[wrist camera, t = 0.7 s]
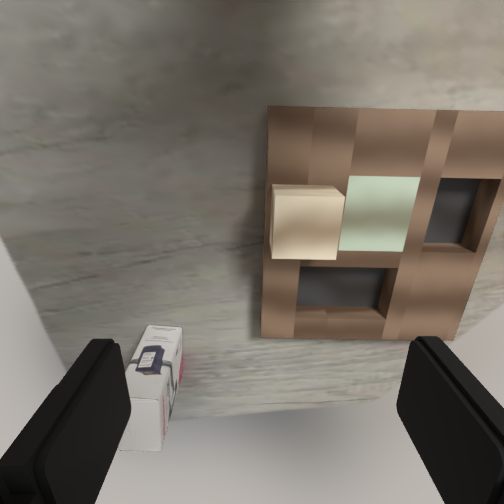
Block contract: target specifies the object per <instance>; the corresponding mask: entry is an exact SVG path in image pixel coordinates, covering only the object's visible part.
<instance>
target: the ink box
mask: <svg viewBox="0 0 504 504" xmlns="http://www.w3.org/2000/svg"><path fill="white" fill-rule="evenodd" d="M125 375H126V381H127V386H128V391H129V396H130V401H131V415H130V419H129V421H128V423H127V426H126V428H125V431H124V433H123V436H122V438H121V441H120V443H119V445H118V448H119V450H120V451H149V452H161V451H162V447H163V443H164V439H165V435H166V431H167V428H168V424H169V420H170V417H171V413H172V409H173V406H174V402H175V399H176V395H177V391H178V388H179V384H180V380H181V377H182V328H181V327H168V326H154V325H148V326H147V327H146V330H145V332H144V334H143V336H142V338H141V340H140V342H139V344H138V346H137V349H136V351H135V353H134V355H133V357H132V359H131V361H130V363H129V365H128V367H127V369H126V372H125Z"/></svg>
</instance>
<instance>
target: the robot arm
mask: <svg viewBox="0 0 504 504" xmlns="http://www.w3.org/2000/svg"><path fill="white" fill-rule="evenodd" d="M396 405H397V412H398V414H399V417H400V418H401V421H402V422H403V424H404V426H405V428H406V430H407V432H408V434H409V436H410V438H411V440H412V442H413V444H414V445H415V447H416V449H417V451H418V453H419V455H420V457H421V459H422V460H423V463H424V465H425V466H426V469H427V470H428V472H429V474H430V476H431V478H432V480H433V482H434V484H435V486H436V488H437V490H438V491H439V493H440V495H441V497H442V499H443V501H444V503H445V504H504V408H503V407H502V406H501V405H500V404H499V403H498V402H497V400H496V399H495V398H494V397H493V396H492V395H491V394H490V393H489V392H488V391H487V389H486V388H485V387H484V386H483V385H482V384H481V383H480V382H479V381H478V380H477V378H476V377H475V376H474V375H473V374H472V373H471V372H470V371H469V370H468V368H467V367H466V366H464V364H463V363H462V362H461V361H460V360H459V359H458V357H457V356H456V355H455V354H454V353H453V352H452V351H451V350H450V349H449V348H448V346H447V345H446V344H445V343H444V342H443V341H442V340H441V339H440V338H439V337H437V336H418V337H416V338H415V341H411V343H410V346H409V350H408V355H407V359H406V363H405V368H404V372H403V377H402V381H401V385H400V390H399V394H398V399H397V404H396ZM130 415H131V401H130V396H129V391H128V386H127V381H126V375H125V370H124V365H123V360H122V355H121V350H120V346H119V344H118V343H114V340H113V339H92V340H91V341H90V342H89V344H88V345H87V346H86V348H85V349H84V350H83V352H82V353H81V354H80V356H79V357H78V358H77V360H76V361H75V363H74V364H73V365H72V367H71V368H70V369H69V371H68V372H67V373H66V375H65V376H64V377H63V379H62V380H61V381H60V383H59V384H58V385H56V386H55V387H54V389H53V390H52V391H51V392H50V394H49V395H48V396H47V398H46V399H45V400H44V402H43V403H42V404H41V406H40V407H39V408H38V410H37V411H36V412H35V414H34V415H33V416H32V418H31V419H30V420H29V422H28V423H27V424H26V426H25V427H24V428H23V430H22V431H21V432H20V434H19V435H18V436H17V438H16V439H15V440H14V442H13V443H12V444H11V446H10V447H9V448H8V450H7V451H6V452H5V454H4V455H3V456H2V458H1V459H0V504H95V502H96V499H97V497H98V494H99V492H100V489H101V487H102V485H103V482H104V480H105V477H106V475H107V472H108V470H109V467H110V465H111V463H112V460H113V458H114V455H115V452H116V450H117V448H118V445H119V443H120V441H121V438H122V436H123V433H124V431H125V428H126V426H127V423H128V421H129V419H130Z"/></svg>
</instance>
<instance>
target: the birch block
mask: <svg viewBox="0 0 504 504" xmlns="http://www.w3.org/2000/svg"><path fill="white" fill-rule="evenodd" d="M344 201H345V196H343V195H342V194H341V193H340V192H339V191H338V190H337V189H336V188H335V187H334V186H328V185H280V184H272V199H271V220H270V248H271V255H272V259H314V260H336V256H337V249H338V242H339V235H340V228H341V221H342V215H343V208H344Z"/></svg>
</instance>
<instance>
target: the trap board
mask: <svg viewBox="0 0 504 504" xmlns="http://www.w3.org/2000/svg"><path fill="white" fill-rule="evenodd" d="M272 184H280V185H328V186H334V187H335V188H336V189H337V190H338V191H339V192H340V193H341V194H342V195H343V196H345V201H344V208H343V215H342V221H341V228H340V235H339V242H338V249H337V256H336V260H314V259H272V255H271V248H270V220H271V199H272ZM503 202H504V111H463V110H419V109H376V108H333V107H289V106H269V112H268V138H267V163H266V189H265V214H264V240H263V266H262V291H261V317H260V328H261V338H321V339H380V340H415V338H416V337H418V336H437V337H439V338H440V339H441V340H442V341H453V340H454V337H455V335H456V332H457V329H458V326H459V323H460V321H461V318H462V315H463V312H464V310H465V307H466V304H467V301H468V299H469V296H470V293H471V290H472V288H473V285H474V282H475V279H476V277H477V274H478V271H479V268H480V266H481V263H482V260H483V257H484V254H485V252H486V249H487V246H488V243H489V241H490V238H491V235H492V232H493V230H494V227H495V224H496V221H497V219H498V216H499V213H500V210H501V208H502V205H503Z"/></svg>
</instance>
